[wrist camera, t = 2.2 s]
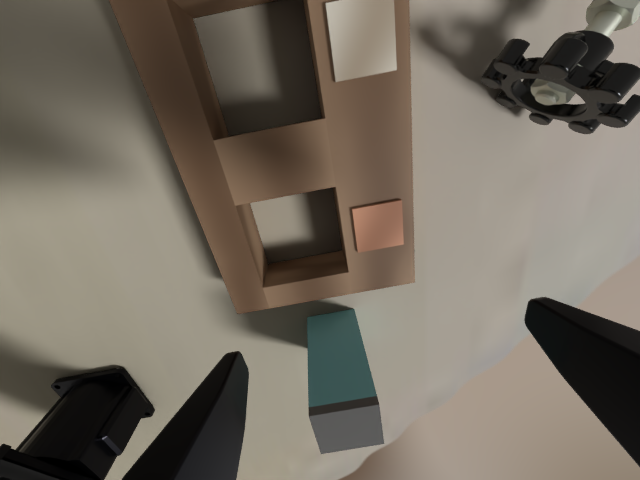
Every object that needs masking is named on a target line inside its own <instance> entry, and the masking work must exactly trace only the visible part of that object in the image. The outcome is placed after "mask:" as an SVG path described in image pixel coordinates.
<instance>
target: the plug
mask: <svg viewBox="0 0 640 480" xmlns="http://www.w3.org/2000/svg"><path fill="white" fill-rule="evenodd" d="M307 338H308V397H309V418H310V422H311V425H312V428H313V431H314V434H315V437H316V440H317V443H318V446H319V449H320V452H321V454H324V453H330V452H336V451H343V450H349V449H355V448H361V447H367V446H373V445H379V444H384V439H383V431H382V423H381V415H380V407H379V402H378V398H377V394H376V391H375V387H374V383H373V379H372V375H371V371H370V368H369V364H368V360H367V356H366V352H365V349H364V345H363V341H362V337H361V333H360V330H359V326H358V322H357V318H356V314H355V310H354V309H350V310H345V311H339V312H333V313H328V314H322V315H317V316H311V317H307Z"/></svg>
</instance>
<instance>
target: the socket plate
mask: <svg viewBox="0 0 640 480" xmlns="http://www.w3.org/2000/svg"><path fill="white" fill-rule="evenodd" d="M273 1H278V0H109V2H110V4H111V7H112V9H113V12H114V14H115V16H116V19H117V21H118V24H119V26H120V29H121V31H122V34H123V36H124V38H125V41H126V43H127V46H128V48H129V51H130V53H131V55H132V58H133V60H134V63H135V65H136V68H137V70H138V73H139V75H140V77H141V80H142V82H143V85H144V87H145V90H146V92H147V94H148V97H149V99H150V102H151V104H152V107H153V109H154V112H155V114H156V116H157V119H158V121H159V124H160V126H161V129H162V131H163V134H164V136H165V138H166V141H167V143H168V146H169V148H170V151H171V153H172V155H173V158H174V160H175V163H176V165H177V168H178V170H179V173H180V175H181V177H182V180H183V182H184V185H185V187H186V190H187V192H188V194H189V197H190V199H191V202H192V204H193V207H194V209H195V212H196V214H197V216H198V219H199V221H200V224H201V226H202V229H203V231H204V234H205V236H206V238H207V241H208V243H209V246H210V248H211V251H212V253H213V255H214V258H215V260H216V263H217V265H218V268H219V270H220V273H221V275H222V277H223V280H224V282H225V285H226V287H227V290H228V292H229V294H230V297H231V299H232V302H233V304H234V307H235V309H236V312H237V314H241V313H247V312H253V311H258V310H264V309H269V308H275V307H280V306H286V305H292V304H297V303H303V302H308V301H314V300H319V299H325V298H331V297H336V296H342V295H347V294H353V293H358V292H364V291H369V290H375V289H381V288H386V287H392V286H397V285H403V284H408V283H414V282H415V267H414V217H413V167H412V117H411V67H410V17H409V0H303V4H304V10H305V16H306V23H307V29H308V35H309V42H310V48H311V54H312V61H313V67H314V73H315V80H316V86H317V92H318V99H319V105H320V111H321V118H320V119H315V120H310V121H305V122H299V123H294V124H289V125H284V126H279V127H274V128H269V129H264V130H259V131H254V132H249V133H244V134H238V135H233V136H229V134H228V131H227V128H226V125H225V121H224V118H223V115H222V112H221V108H220V105H219V102H218V99H217V95H216V92H215V89H214V86H213V82H212V79H211V76H210V73H209V69H208V66H207V63H206V60H205V57H204V53H203V50H202V47H201V44H200V40H199V37H198V34H197V31H196V27H195V24H194V21H193V18H197V17H201V16H206V15H211V14H216V13H221V12H225V11H230V10H235V9H240V8H245V7H249V6H254V5H259V4H264V3H269V2H273ZM331 187H333V194H334V200H335V206H336V213H337V219H338V225H339V232H340V238H341V244H342V251H337V252H331V253H326V254H320V255H315V256H309V257H304V258H299V259H293V260H288V261H282V262H277V263H271V264H268V261H267V258H266V254H265V251H264V248H263V245H262V241H261V238H260V235H259V232H258V228H257V225H256V222H255V219H254V215H253V212H252V209H251V206H250V203H252V202H257V201H263V200H268V199H273V198H278V197H284V196H289V195H294V194H300V193H305V192H310V191H315V190H321V189H326V188H331Z"/></svg>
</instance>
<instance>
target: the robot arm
mask: <svg viewBox="0 0 640 480" xmlns="http://www.w3.org/2000/svg"><path fill="white" fill-rule="evenodd" d="M525 324H526V326H527V328H528V330H529V331H530V332H531V334H532V335H533V337H534V338H535V339H536V341H537V342H538V344H539V345H540V346H541V348H542V349H543V350H544V352H545V353H546V355H547V356H548V357H549V359H550V360H551V361H552V363H553V364H554V366H555V367H556V369H557V370H558V371H559V373H560V374H561V375H562V376H563V377H564V379H565V380H566V381H567V382H568V384H569V385H570V386H571V387H572V388H573V390H574V391H575V392H576V393H577V394H578V395H579V396H580V398H581V399H582V400H583V401H584V402H585V403H586V405H587V406H588V407H589V408H590V409H591V411H592V412H593V413H594V414H595V415H596V416H597V418H598V419H599V420H600V421H601V422H602V423H603V424H604V426H605V427H606V428H607V429H608V430H609V432H610V433H611V434H612V435H613V436H614V437H615V439H616V440H617V441H618V442H619V443H620V444H621V446H622V447H623V448H624V449H625V450H626V451H627V453H628V454H629V455H630V456H631V457H632V459H634V461H635V462H636V463H637V464H638V466H639V467H640V331H638V330H635V329H633V328H630V327H627V326H624V325H622V324H619V323H616V322H613V321H611V320H608V319H605V318H602V317H600V316H597V315H594V314H591V313H588V312H585V311H583V310H580V309H577V308H575V307H572V306H569V305H566V304H564V303H561V302H558V301H555V300H553V299H550V298H547V297H540V298H535V299H531V300H530V301H529V302H528V305H527V310H526V314H525ZM248 379H249V372H248V368H247V365H246V363H245V361H244V358H243V356H242V354H241V353H240V352H239V351H236V352H230V353H227V354H225V355H224V356H223V358H222V359H221V360H220V361H219V362H218V364H217V365H216V366H215V367H214V368H213V370H212V371H211V372H210V373H209V375H208V376H207V377H206V378H205V379H204V381H203V382H202V383H201V384H200V385H199V387H198V388H197V389H196V390H195V391H194V393H193V394H192V395H191V396H190V397H189V399H188V400H187V401H186V402H185V403H184V405H183V406H182V407H181V408H180V409H179V411H178V412H177V413H176V414H175V415H174V417H173V418H172V419H171V420H170V421H169V423H168V424H167V425H166V426H165V428H164V429H163V430H162V431H161V432H160V434H159V435H158V436H157V437H156V438H155V440H154V441H153V442H152V443H151V444H150V446H149V447H148V448H147V449H146V450H145V452H144V453H143V454H142V455H141V456H140V458H139V459H138V460H137V461H136V462H135V464H134V465H133V466H132V467H131V468H130V470H129V471H128V472H127V473H126V474H125V476H124V477H123V478H122V480H236V478H237V472H238V466H239V460H240V454H241V449H242V443H243V437H244V430H245V420H246V406H247V393H248ZM51 387H52V388H53V390H54V391H55V392H56V393H57V394H58V395H59V396H60V397H61V398H60V399H59V400H58V401H57V402H56V404H55V405H54V406H53V407H52V408H51V409H50V410H49V412H48V413H47V414H46V415H45V416H44V417H43V419H42V420H41V421H40V422H39V423H38V424H37V425H36V427H35V428H34V429H33V430H32V431H31V432H30V434H29V435H28V436H27V437H26V438H25V439H24V441H23V442H22V443H21V444H20V445H19V446H18V447H17V449H16V450H14V449H11V446H9V445H6V444H2V445H1V446H0V480H104V479H105V477H106V475H107V474H108V472H109V470H110V468H111V466H112V464H113V463H114V461H115V459H116V457H117V456H119V455H121V454H122V452H123V451H124V449H125V447H126V445H127V443H128V442H129V440H130V438H131V436H132V434H133V432H134V430H135V429H136V427H137V425H138V423H139V421H140V419H141V418H147V417H151V416H152V415H153V413H154V411H155V409H154V408H153V406H152V405H151V404H150V402H149V401H148V400H147V398H146V397H145V396H144V394H143V393H142V392H141V390H140V389H139V388H138V386H137V385H136V384H135V382H134V381H133V380H132V378H131V377H130V376H129V374H128V373H127V372H126V371H125V370H124V369H113V370H107V371H102V372H96V373H90V374H85V375H79V376H73V377H68V378H62V379H57V380H56V381H55V382H54V383H53V384H52V385H51Z"/></svg>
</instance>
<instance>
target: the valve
mask: <svg viewBox="0 0 640 480" xmlns="http://www.w3.org/2000/svg"><path fill="white" fill-rule="evenodd" d="M639 16H640V0H593V1H592V3H591V4H590V6H589V7H588V8H587V11H586V21H587V23H588V24H589V25H588V26H587V27H586V29H585V30H582V31H576V32H568V33H565V34H564V35H562V36H561V37H559V38H558V39H557V40H556V41H555V42H554V43H553V45H552V46H551V47H550V49H549V50H548V51H547V53H546V54H545V55H544V57H543V58H539V57H537V58H527V59H525V57H524V56H523V54H524V52H525V51H526V49H527V48H528V46H529V45H530V43H528V42H527V41H525V40H522V39H512V40H510V41H509V42H508V43H507V44H506V46H505V47H504V49H503V50H502V52H501V53H500V55H499V56H498V58H496V59H494V60H493V61H492V62H491V64H490V65H489V67H488V68H487V70H486V71H485V73H484V74H483V76H482V77H481V82H482V83H483V84H484V85H486V86H487V87H490V88H494V89H497V88H500V89H502V91H501V92H500V94H499V95H498V97H497V98H496V101H497V102H498V103H499V104H500V105H502V106H504V107H508V108H513V107H515V106H516V105H517V106H521V107H523V108H525V109H527V110H529V111H531V112H532V113H531V114H530V115H529V118H530V120H531V121H533V122H535V123H537V124H540V125H548V124H549V123H550V122H551V121H552V120H553V119H557V120H562V121H565V122H567V123H569V124H568V126H569V128H570V129H572V130H573V131H575V132H578V133H582V134H591V133H593V132H594V131H595V130H596V129H597V127H598V126H599V125H600V124H604V125H606V126H609V127H615V128H621V127H625V126H627V125H628V124H629V123H630V122H631V121H632V120H633V118H634V117H635V116H636V115H637V114H638V113H639V112H640V96H639V95H636V94H634V95H632V96H631V98H630V99H629V100H628V101H627V102H626V103H625V104H618V103H617V102H619V101H620V100H622V98H623V97H624V96H625V95H626V94H627V93H628V92H629V90H630V89H631V88H632V87H633V86H634V85H635V84H636V82H637V81H638V80H639V79H640V68H639V67H637V66H635V65H632V64H628V63H615V64H614V63H612V62H610V61H608V60H606V59H607V58H608V56H609V55H610V54H611V53H612V51H613V49H614V44H613V42H612V40H611V39H610V38H609V36H610V35H611V33H612V32H613V31H617V30H621V29H624V28H626V27H629V26H631V25H633V24H634V23H635V21H636V20H637V19H638V18H639ZM520 79H524V80H523V81H522V82H521V80H520ZM575 93H576V94H578V95H579V96H580V97H581V98H582V99H583V100H584V101H585V104H578V105H573V104H564V103H568V102H569V101H570V100H571V98H572V97H573V96H574V95H575Z"/></svg>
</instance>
